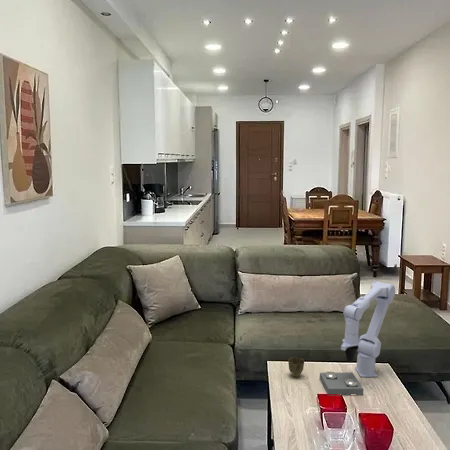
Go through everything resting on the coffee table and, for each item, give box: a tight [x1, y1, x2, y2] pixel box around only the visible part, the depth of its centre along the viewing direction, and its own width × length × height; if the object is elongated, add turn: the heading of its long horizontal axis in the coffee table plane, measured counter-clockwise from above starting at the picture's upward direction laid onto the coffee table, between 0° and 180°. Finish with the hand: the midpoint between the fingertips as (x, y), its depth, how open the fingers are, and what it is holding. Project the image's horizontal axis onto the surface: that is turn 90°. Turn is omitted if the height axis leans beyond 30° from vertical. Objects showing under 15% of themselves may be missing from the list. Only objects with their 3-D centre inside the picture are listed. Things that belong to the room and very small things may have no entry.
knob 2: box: [345, 379, 357, 387], centre depth 204 cm, size 5×5×4 cm
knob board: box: [319, 371, 364, 396], centre depth 208 cm, size 15×15×3 cm
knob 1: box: [324, 371, 337, 379], centre depth 211 cm, size 5×5×4 cm
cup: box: [287, 356, 305, 378], centre depth 217 cm, size 8×7×8 cm
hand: (349, 361), depth 210 cm, fingers closed
